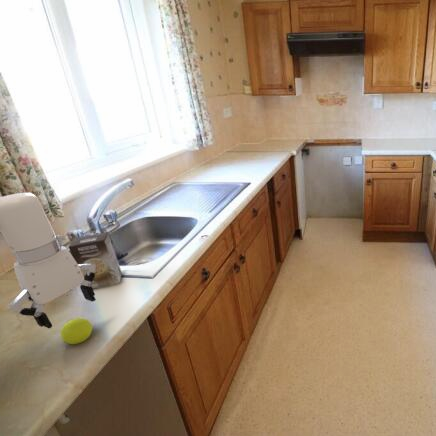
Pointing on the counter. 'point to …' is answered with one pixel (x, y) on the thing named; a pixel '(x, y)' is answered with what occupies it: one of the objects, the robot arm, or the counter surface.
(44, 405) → the counter surface
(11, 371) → the counter surface
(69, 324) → the ball
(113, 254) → the coffee box
